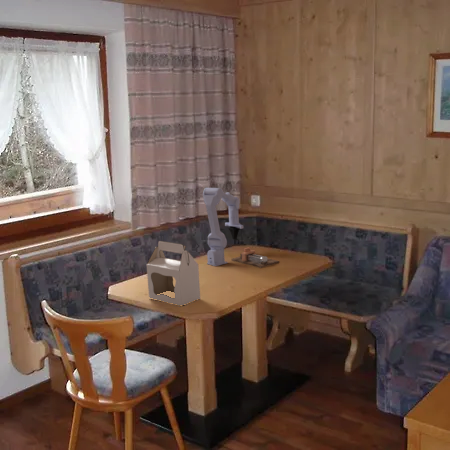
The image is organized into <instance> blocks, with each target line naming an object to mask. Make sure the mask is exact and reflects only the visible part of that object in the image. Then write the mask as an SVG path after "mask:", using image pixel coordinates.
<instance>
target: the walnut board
mask: <svg viewBox="0 0 450 450" xmlns="http://www.w3.org/2000/svg"><path fill="white" fill-rule="evenodd" d="M231 261H233V262H235V263H236V262H237V263H240V264H244V265H248V266H252V267H255V268H259V269H263V268H266V267H269V266H272V265H277V264H279V263H280V260H277V259H272V258H268V257H267V264H258V263H254V262H250V261H243V260H242V259H241V255H240V256H238V257H234V258H233V257H232V258H231Z"/></svg>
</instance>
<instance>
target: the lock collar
mask: <svg viewBox="0 0 450 450" xmlns="http://www.w3.org/2000/svg"><path fill="white" fill-rule="evenodd" d="M240 254H242V260H243V261H247V258H246V255H248V254H256V250H253V249H251V247H249V246H248V247H245V248H243V252H240Z"/></svg>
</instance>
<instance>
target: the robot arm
mask: <svg viewBox="0 0 450 450" xmlns="http://www.w3.org/2000/svg"><path fill="white" fill-rule="evenodd" d="M230 193H231V192H229V191H228V192H227V191H226V192H224V190H223V188H222V187H205V188H204V189H203V192H202V198H203V203H204V204H205V208H206V213H207V217H208V222H209V227H210V233H208V236H207V245H208V247H209V248H210V250H208V251H207V252H206V253H207V258H206V259H207V263H206V264H207V265H210V266H213V267H218V266H221V265H225V264H228V263H229V261H225V248H226V247H227V244H228V240H227V238H226V235H225V234H224V233H223V231H221V227H220V222H219V219H218V218H219V217H218V212H217V207H216V206H217V205H219V203H220V202H221V201H223V202H224V203H225V204H226V206H227V207H228V222H224V226H225V227H228V231H229V232H230V234H231V238H232V240H237V239H238V236H239V232H240V230H242V229H244V224H241V222H240V219H239V216H240V215H239V209H240V202H241V200H240V198H239V197H238V196H234V195H233V194H230Z"/></svg>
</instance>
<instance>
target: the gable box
mask: <svg viewBox="0 0 450 450" xmlns="http://www.w3.org/2000/svg"><path fill="white" fill-rule="evenodd" d="M186 248H187V245H184V244H183V243H177V242H171V241H165V240H158V245H157V246H155V247H154V250H153V252H152V253H151V256H150V257H149V259H148V261H147V262H146V272H147V275H146V276H147V289H148V290H147V291H148V298H149V297H150V298H153V299H157V300H161V301H164V302H168V303H173V304H177V305H184V304H187V303H189V302H192V301H194V300H197V299H200V300H201V287H200V285H201V284H200V273H199V272H200V271H199V264H198V262H197V261H196V260H195V258H194V257H193V255H191V253H190V252H189V251H188V250H186ZM164 252H169V253H174V254H180V255H181V257H180V260H178V259H172V258H167V257H166V256H165V253H164ZM174 279H175V284H174ZM166 291H171V292H174V293H175V298H171V297H169V296H167V295H164V294H160V293H163V292H166ZM157 294H160V295H157ZM197 301H198V300H197ZM192 303H193V302H192ZM187 305H188V304H187Z"/></svg>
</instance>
